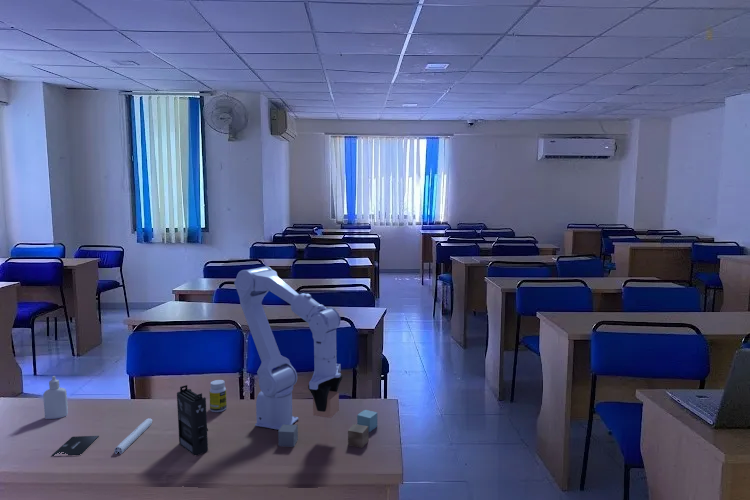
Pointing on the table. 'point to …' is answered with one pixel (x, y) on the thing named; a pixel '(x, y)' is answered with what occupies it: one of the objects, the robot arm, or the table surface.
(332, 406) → the terracotta block
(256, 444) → the table surface
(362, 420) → the dull teal block
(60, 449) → the solid state drive
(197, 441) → the geiger counter
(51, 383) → the eye dropper bottle
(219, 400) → the supplement bottle
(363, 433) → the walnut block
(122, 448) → the marker
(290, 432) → the charcoal block
